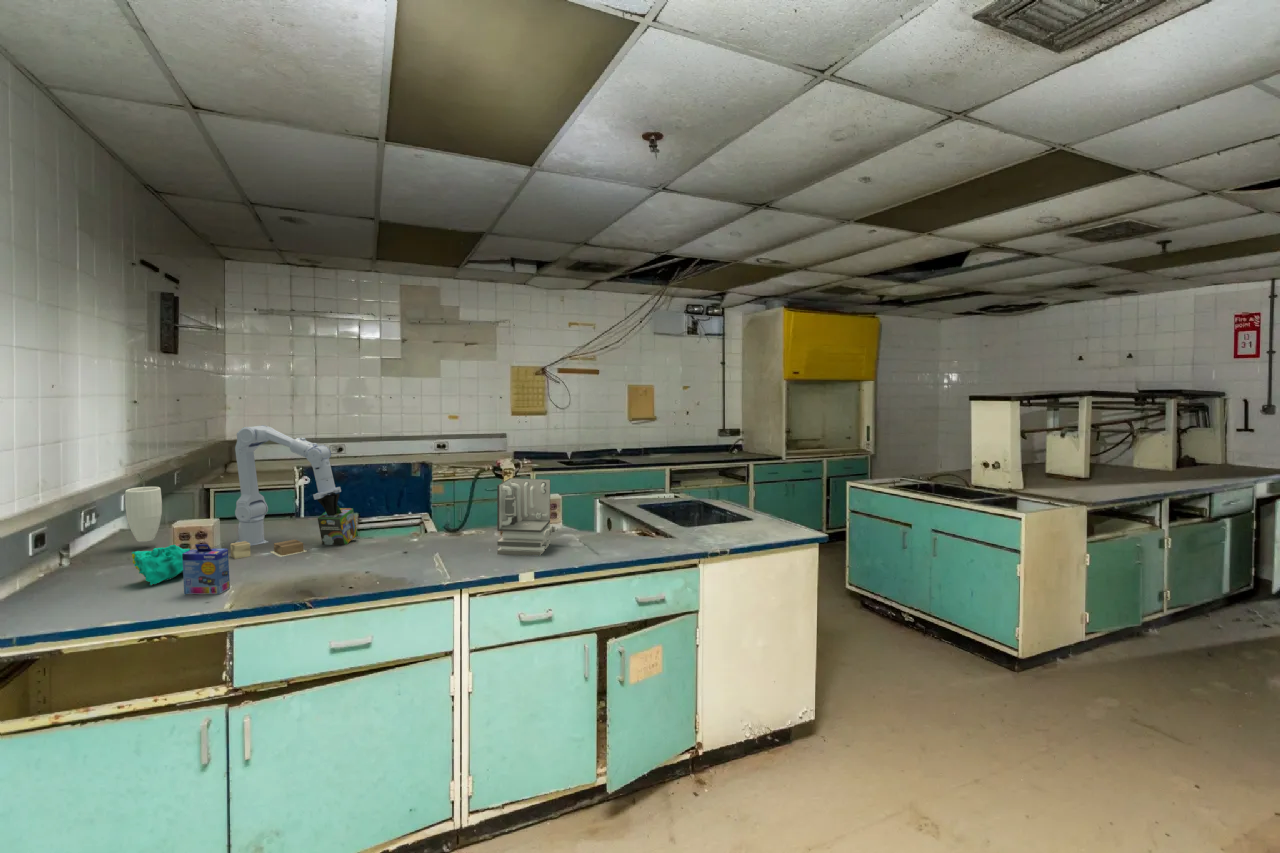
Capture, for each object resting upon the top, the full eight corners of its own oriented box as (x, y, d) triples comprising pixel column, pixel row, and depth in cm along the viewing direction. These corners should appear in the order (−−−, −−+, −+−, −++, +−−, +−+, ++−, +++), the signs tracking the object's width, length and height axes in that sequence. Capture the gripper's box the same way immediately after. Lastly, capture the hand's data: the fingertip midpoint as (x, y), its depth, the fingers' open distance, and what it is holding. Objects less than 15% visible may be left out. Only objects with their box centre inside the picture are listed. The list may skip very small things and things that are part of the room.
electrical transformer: (509, 542, 230) (509, 478, 228) (558, 544, 229) (559, 479, 227) (497, 554, 215) (497, 485, 213) (550, 556, 213) (550, 486, 211)
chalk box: (358, 535, 230) (353, 499, 226) (344, 546, 221) (339, 509, 217) (335, 535, 231) (330, 499, 227) (321, 545, 222) (315, 508, 218)
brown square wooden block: (274, 551, 212) (273, 543, 211) (295, 547, 217) (295, 539, 217) (282, 555, 207) (281, 547, 207) (303, 551, 213) (303, 542, 212)
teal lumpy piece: (141, 552, 187) (187, 530, 191) (161, 585, 187) (206, 563, 192) (116, 557, 173) (165, 533, 177) (137, 593, 173) (186, 568, 177)
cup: (169, 543, 221) (167, 485, 220) (156, 551, 212) (154, 490, 210) (135, 545, 218) (132, 486, 216) (121, 553, 208) (117, 492, 207)
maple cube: (230, 556, 205) (230, 543, 205) (245, 553, 209) (245, 541, 208) (235, 559, 203) (235, 546, 202) (250, 556, 206) (250, 543, 206)
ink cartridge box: (182, 595, 170) (180, 545, 169) (195, 588, 175) (193, 540, 174) (219, 595, 171) (217, 545, 170) (230, 588, 176) (228, 540, 175)
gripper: (323, 479, 211) (332, 517, 212) (345, 473, 225) (353, 508, 226) (304, 483, 211) (313, 520, 212) (327, 477, 226) (335, 512, 227)
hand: (332, 514), depth 219 cm, fingers closed
